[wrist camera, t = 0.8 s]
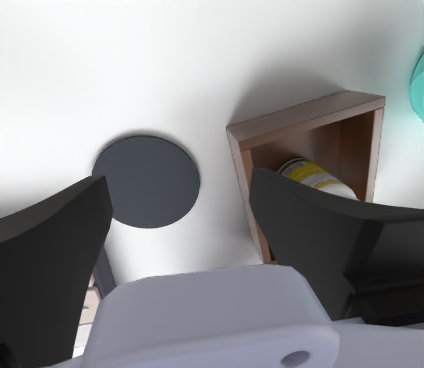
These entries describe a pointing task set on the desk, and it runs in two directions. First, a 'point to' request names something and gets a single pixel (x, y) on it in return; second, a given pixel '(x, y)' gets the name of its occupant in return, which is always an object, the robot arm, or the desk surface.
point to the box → (311, 146)
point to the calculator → (94, 297)
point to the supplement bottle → (315, 177)
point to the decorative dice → (418, 89)
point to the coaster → (148, 181)
